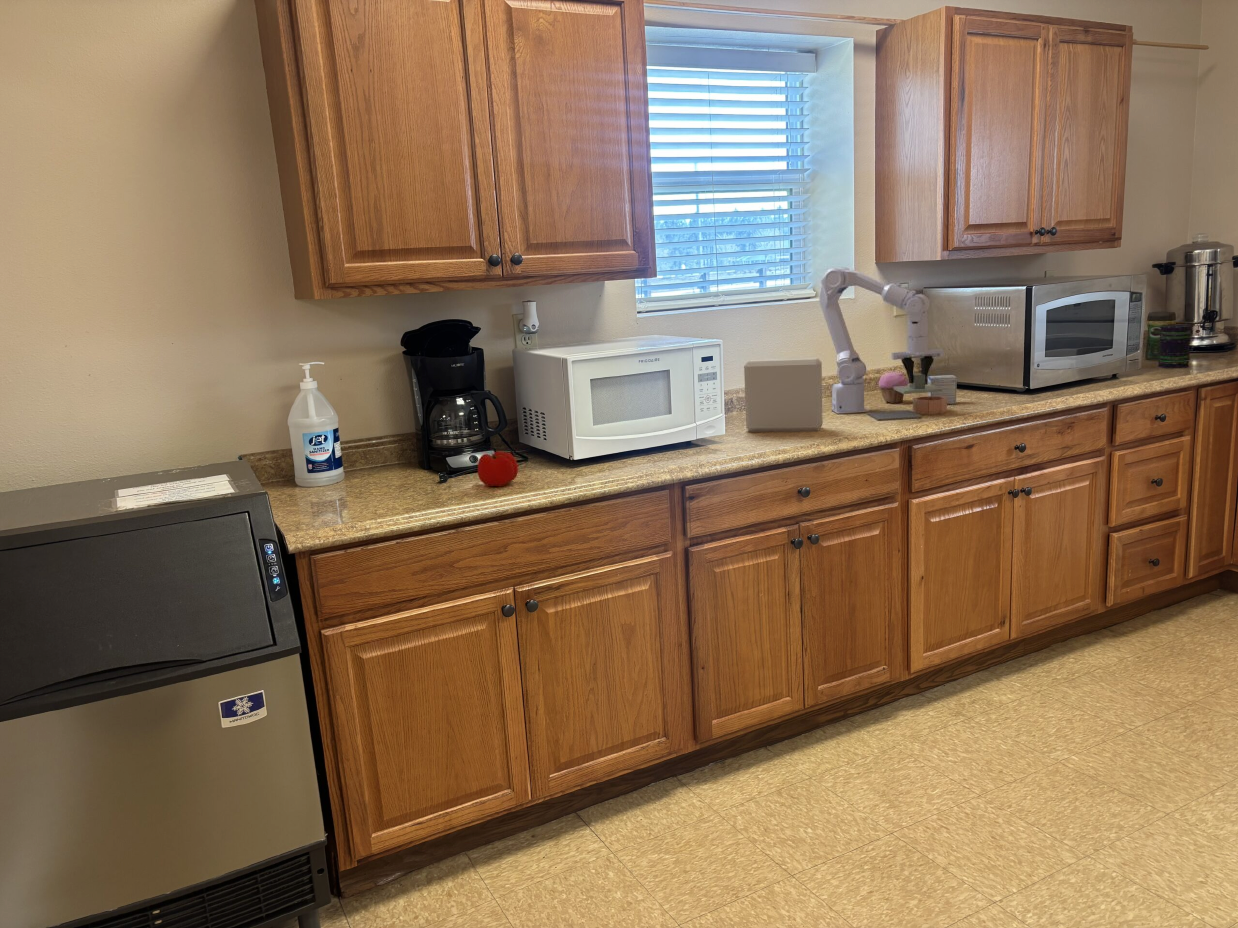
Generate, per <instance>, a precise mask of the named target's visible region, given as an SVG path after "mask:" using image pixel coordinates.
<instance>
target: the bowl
mask: <svg viewBox="0 0 1238 928" xmlns="http://www.w3.org/2000/svg"><path fill="white" fill-rule="evenodd" d="M947 411H948V404H947V398H945V397H942V396H928V395H926V396H922V395H921V396H916V397H913V398H912V412H913V413H915V414H917V413H921V414H920V415H936V414H935V413H941V414H944V413H947Z"/></svg>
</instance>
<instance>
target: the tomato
mask: <svg viewBox="0 0 1238 928" xmlns="http://www.w3.org/2000/svg"><path fill="white" fill-rule="evenodd" d="M518 473H519V466H518V461H517V460H516V458H515V457H514V455H512V454H511V453H510V452H507V451H506V452H505V451H501V450H499V451H495V452H494V453H491V455H490V454H488V453H483V454H482V455H481V456H480V458H479V460H478V463H477V475H478V478H479V480H480V482H481V483H482V484H483V485H485V486H487V487H497V486H501V487H503V486H504V485H505V486H506V485H507V484H508V483H511V482H512V481H513V480H515V479H516V478H517V475H518Z"/></svg>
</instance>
